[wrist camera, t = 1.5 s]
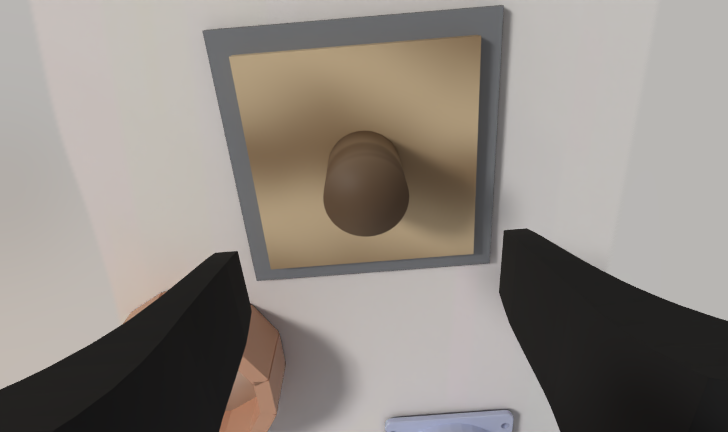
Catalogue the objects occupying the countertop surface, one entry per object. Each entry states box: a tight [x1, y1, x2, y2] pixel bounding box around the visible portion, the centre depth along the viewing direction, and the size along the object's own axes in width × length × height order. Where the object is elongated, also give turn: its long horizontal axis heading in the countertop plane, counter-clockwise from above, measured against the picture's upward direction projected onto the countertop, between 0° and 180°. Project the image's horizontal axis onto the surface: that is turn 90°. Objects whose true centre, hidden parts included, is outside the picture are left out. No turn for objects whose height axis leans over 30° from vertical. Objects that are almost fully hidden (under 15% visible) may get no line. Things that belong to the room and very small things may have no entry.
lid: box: [229, 35, 481, 269], centre depth 19 cm, size 10×10×4 cm
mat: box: [203, 5, 504, 281], centre depth 21 cm, size 12×12×1 cm
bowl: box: [123, 292, 286, 432], centre depth 24 cm, size 9×9×4 cm
